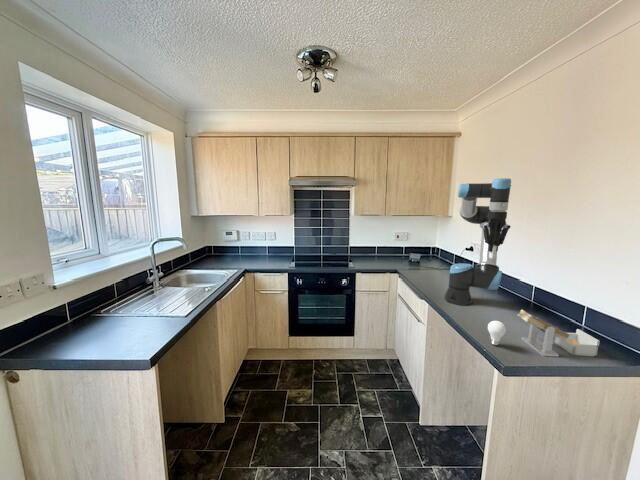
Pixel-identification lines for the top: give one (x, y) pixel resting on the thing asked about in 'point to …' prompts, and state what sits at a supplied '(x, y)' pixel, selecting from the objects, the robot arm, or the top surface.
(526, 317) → the lever
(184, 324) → the top surface
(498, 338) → the light bulb
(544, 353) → the stand
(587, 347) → the tray
